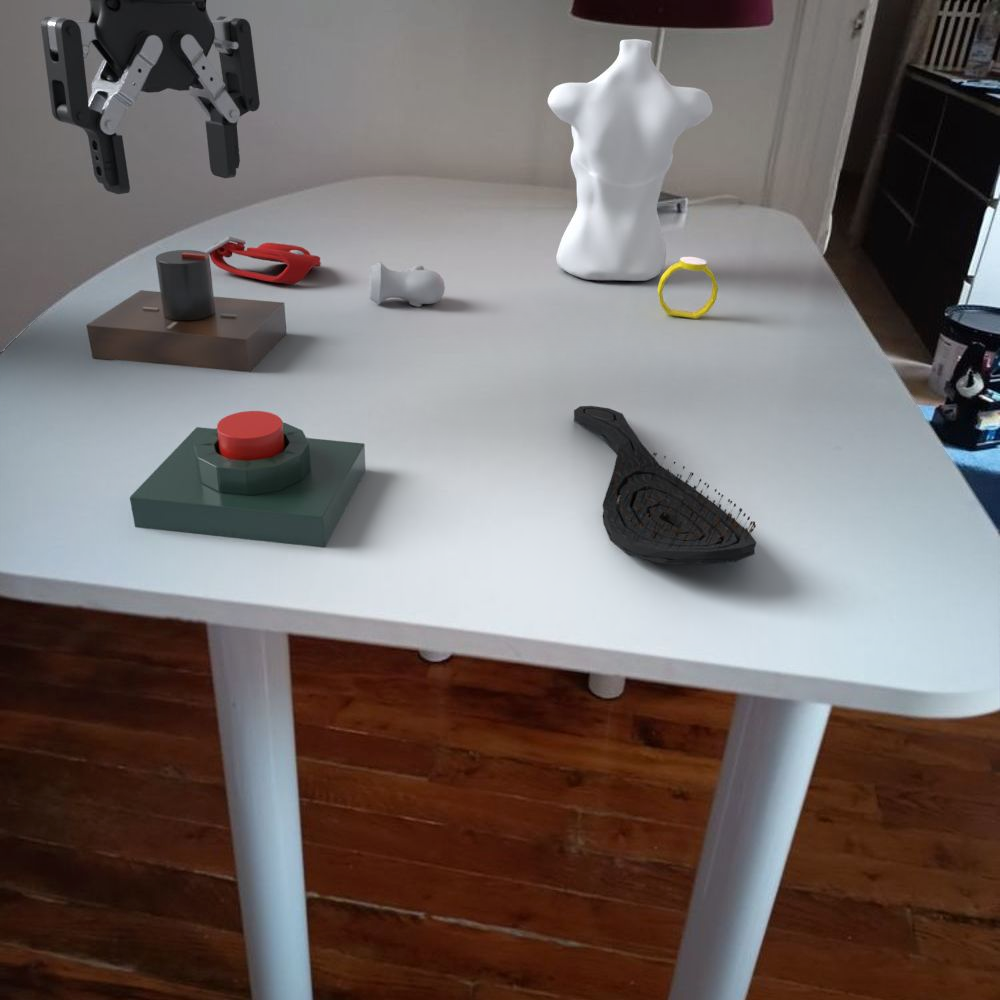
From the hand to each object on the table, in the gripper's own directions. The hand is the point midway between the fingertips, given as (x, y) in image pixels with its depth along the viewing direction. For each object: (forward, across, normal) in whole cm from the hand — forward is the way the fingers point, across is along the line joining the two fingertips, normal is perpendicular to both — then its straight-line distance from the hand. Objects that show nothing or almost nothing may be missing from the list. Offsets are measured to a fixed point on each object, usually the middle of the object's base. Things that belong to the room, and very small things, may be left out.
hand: (172, 183), depth 64 cm
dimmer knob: (+14, -6, -10) cm, 18 cm away
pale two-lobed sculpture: (+17, -30, -6) cm, 34 cm away
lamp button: (+13, +7, +16) cm, 21 cm away
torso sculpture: (+17, -55, +2) cm, 58 cm away
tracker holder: (+17, -25, -24) cm, 38 cm away
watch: (+17, -48, +17) cm, 53 cm away
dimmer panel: (+17, -6, -10) cm, 21 cm away
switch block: (+16, +6, +16) cm, 24 cm away
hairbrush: (+17, -12, +34) cm, 39 cm away
